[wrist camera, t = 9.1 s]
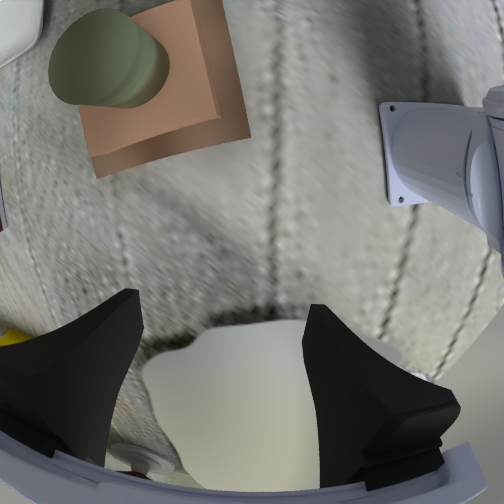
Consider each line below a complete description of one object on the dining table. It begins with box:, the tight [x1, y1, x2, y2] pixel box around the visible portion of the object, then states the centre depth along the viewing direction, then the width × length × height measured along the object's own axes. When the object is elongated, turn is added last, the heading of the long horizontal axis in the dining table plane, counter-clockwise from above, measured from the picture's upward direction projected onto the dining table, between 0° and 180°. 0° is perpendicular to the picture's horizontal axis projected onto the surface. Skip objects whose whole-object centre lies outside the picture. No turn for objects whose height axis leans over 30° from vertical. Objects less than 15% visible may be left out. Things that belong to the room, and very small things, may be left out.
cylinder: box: [48, 9, 170, 109], centre depth 10 cm, size 4×4×5 cm
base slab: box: [92, 0, 251, 179], centre depth 16 cm, size 11×11×2 cm
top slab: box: [79, 0, 221, 157], centre depth 14 cm, size 8×8×2 cm
